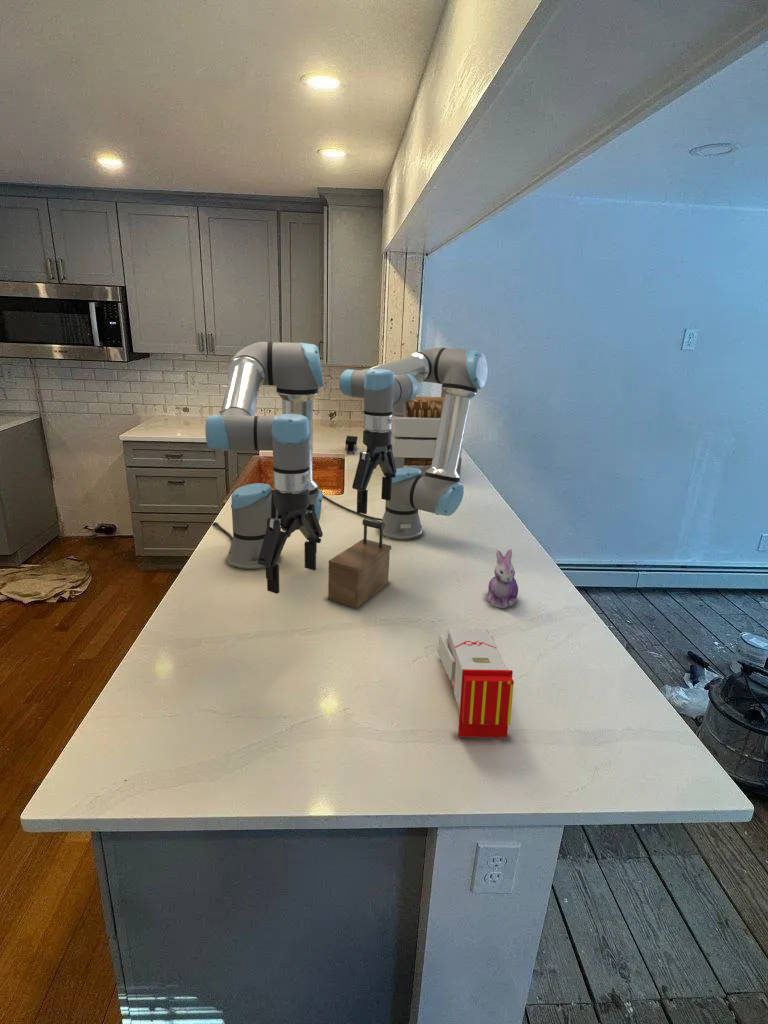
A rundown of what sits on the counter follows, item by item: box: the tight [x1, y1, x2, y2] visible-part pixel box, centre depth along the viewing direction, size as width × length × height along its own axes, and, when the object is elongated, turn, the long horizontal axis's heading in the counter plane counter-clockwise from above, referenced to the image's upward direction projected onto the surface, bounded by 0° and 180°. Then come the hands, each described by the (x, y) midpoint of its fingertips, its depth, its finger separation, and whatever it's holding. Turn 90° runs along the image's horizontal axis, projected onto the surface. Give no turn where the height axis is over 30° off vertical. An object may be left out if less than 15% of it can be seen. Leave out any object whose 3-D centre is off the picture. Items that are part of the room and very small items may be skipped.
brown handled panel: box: [328, 517, 392, 573], centre depth 154 cm, size 18×9×9 cm, turn 151°
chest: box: [327, 550, 391, 609], centre depth 157 cm, size 17×9×10 cm, turn 151°
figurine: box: [487, 548, 519, 609], centre depth 154 cm, size 9×10×15 cm
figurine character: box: [344, 435, 359, 455], centre depth 308 cm, size 7×8×15 cm
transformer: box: [390, 389, 464, 483], centre depth 268 cm, size 34×33×41 cm
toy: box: [437, 628, 515, 738], centre depth 117 cm, size 12×13×30 cm
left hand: (292, 579), depth 127 cm, fingers open, 13 cm apart
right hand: (374, 506), depth 156 cm, fingers open, 13 cm apart
